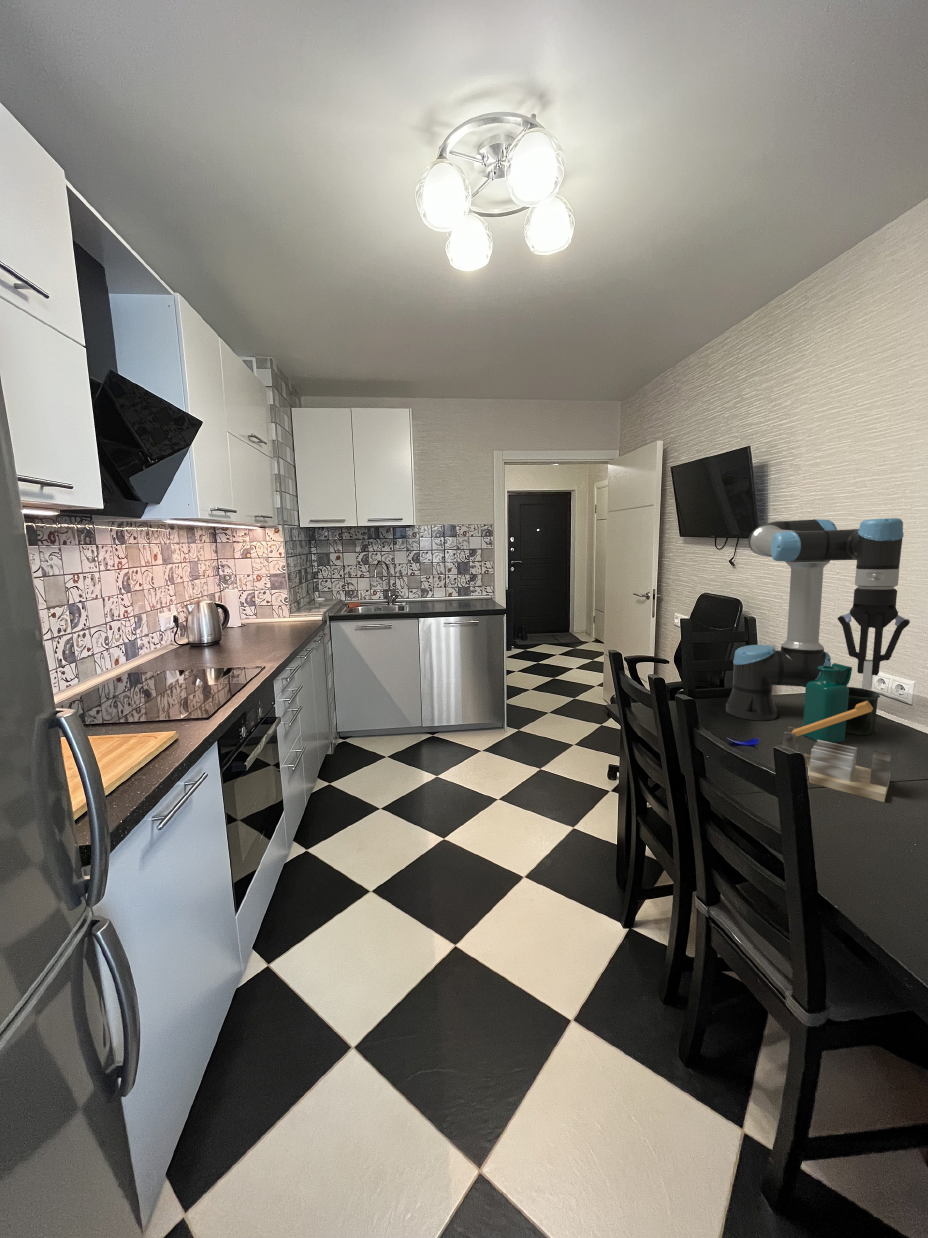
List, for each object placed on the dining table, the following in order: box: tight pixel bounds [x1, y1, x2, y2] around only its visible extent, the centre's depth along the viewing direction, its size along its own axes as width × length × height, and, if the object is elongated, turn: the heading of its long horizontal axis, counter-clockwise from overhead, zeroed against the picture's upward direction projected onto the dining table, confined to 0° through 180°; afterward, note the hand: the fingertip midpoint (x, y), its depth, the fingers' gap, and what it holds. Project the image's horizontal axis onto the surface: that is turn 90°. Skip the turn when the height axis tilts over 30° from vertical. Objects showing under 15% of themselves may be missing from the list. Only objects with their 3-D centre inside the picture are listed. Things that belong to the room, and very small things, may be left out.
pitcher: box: [802, 662, 853, 744], centre depth 143 cm, size 10×8×22 cm
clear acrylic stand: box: [782, 726, 892, 803], centre depth 121 cm, size 21×13×10 cm, turn 45°
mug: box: [845, 686, 881, 736], centre depth 151 cm, size 11×15×12 cm
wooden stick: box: [791, 701, 873, 737], centre depth 120 cm, size 18×3×2 cm
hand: (866, 687), depth 114 cm, fingers closed
